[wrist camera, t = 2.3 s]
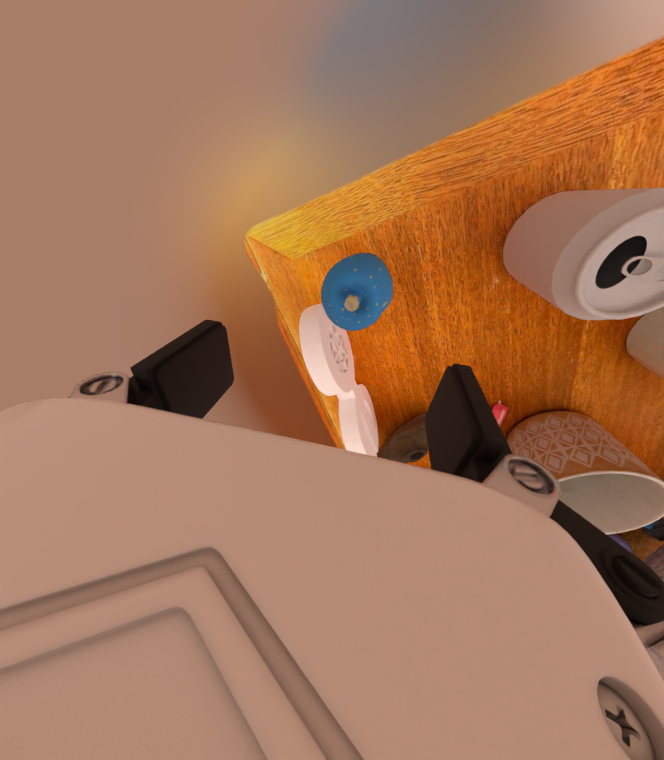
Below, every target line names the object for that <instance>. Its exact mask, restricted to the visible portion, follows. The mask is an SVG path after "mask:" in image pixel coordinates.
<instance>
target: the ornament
mask: <svg viewBox="0 0 664 760" xmlns="http://www.w3.org/2000/svg"><path fill="white" fill-rule="evenodd" d="M392 294H393V284H392V279H391V276H390V273H389V271H388V269H387V267H386V265H385V264H384V263H383V262H382V261H381V260H380V259H379V258H378V257H377V256H376V255H374V254H371V253H360V254H355V255H352V256H350V257H347V258H345V259H342V260H341V261H339V262H338V263H336V264H335V265H334V266H333V267H332V268H331V269H330V271H329V272H328V273H327V275H326V277H325V279H324V282H323V286H322V291H321V299H322V305H323V308H324V310H325V313H326V315H327V316H328V318H329V319H330V320H331V321H332V322H333V323H334V324H335V325H336V326H338V327H340V328H342V329H345V330H349V331H356V330H361V329H364V328H366V327H368V326H370V325H372V324H373V323H374V322H376V321H377V320H378V318H379V317H380V315H381V313H382V312H383V311H384V310H385V309H386V308H387V307H388V305H389V304H390V302H391V299H392Z"/></svg>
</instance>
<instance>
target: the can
mask: <svg viewBox="0 0 664 760" xmlns="http://www.w3.org/2000/svg"><path fill="white" fill-rule="evenodd" d="M503 263H504V265H505V268H506V270H507V272H508V273H509V274H510V275H511V276H512V277H513V278H514V279H515V280H517V281H518V282H520V283H521V284H523V285H524V286H526V287H527V288H529V289H530V290H532V291H533V292H535V293H536V294H538V295H539V296H541V297H542V298H544V299H545V300H547V301H548V302H550V303H551V304H552V305H554V306H555V307H557V308H558V309H560V310H561V311H563V312H564V313H566V314H568V315H571V316H574V317H576V318H579V319H582V320H605V319H616V320H621V319H626V318H631V317H636V316H641V315H644V314H646V313H649V312H651V311H654V310H656V309H659V308H661V307H663V306H664V188H642V189H612V190H582V191H562V192H559V193H556V194H553V195H550V196H548V197H545V198H543V199H542V200H540V201H539V202H537V203H536V204H534V205H533V206H531V207H530V208H528V209H527V210H526V211H525V212H524V213H523V215H522V216H521V217H520V218H519V219H518V220H517V221H516V222H515V224H514V225H513V227H512V229H511V230H510V232H509V233H508V235H507V238H506V241H505V244H504V248H503Z"/></svg>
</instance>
